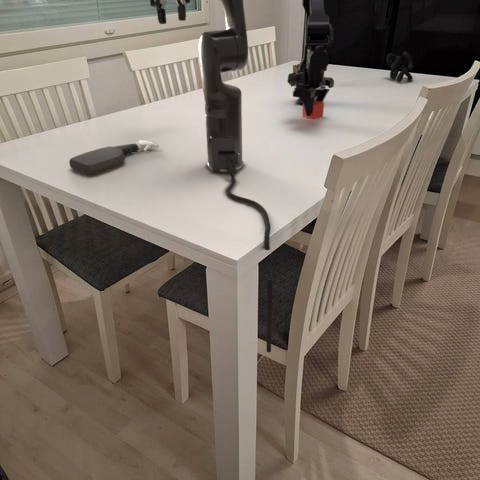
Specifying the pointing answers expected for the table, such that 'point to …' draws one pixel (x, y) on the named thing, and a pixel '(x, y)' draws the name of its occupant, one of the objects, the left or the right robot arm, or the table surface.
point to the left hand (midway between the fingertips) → (172, 22)
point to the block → (315, 111)
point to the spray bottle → (106, 157)
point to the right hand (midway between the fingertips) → (312, 113)
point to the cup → (295, 68)
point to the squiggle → (399, 66)
